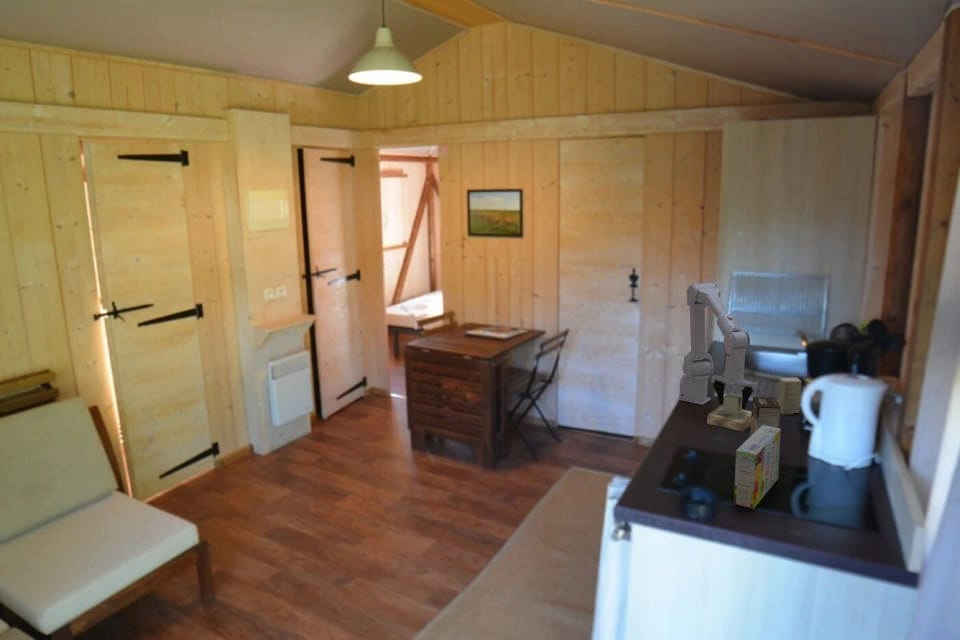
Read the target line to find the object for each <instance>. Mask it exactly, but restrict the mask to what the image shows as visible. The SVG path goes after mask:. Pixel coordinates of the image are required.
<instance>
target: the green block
mask: <svg viewBox="0 0 960 640" xmlns="http://www.w3.org/2000/svg"><path fill="white" fill-rule="evenodd" d="M722 406H723V413H724V414H728V415H733V416H738V415H739V414H740V413H742V410H743V409H742V394H738V393H737V394H736V393H731V392H728V393H727V394H725V395H724V400H723V405H722Z"/></svg>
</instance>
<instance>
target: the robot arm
mask: <svg viewBox="0 0 960 640" xmlns="http://www.w3.org/2000/svg"><path fill="white" fill-rule="evenodd" d="M686 303H687V306H688V307H689V325H690V329H689V331H690V332H689V333H690V351H689V352H688V353H686V355H684V357H683V364H682V373H683V375H682V376H681V378H680V381H679V394H678V396H679V397H678V401H684V402H688V403H693V404H696V405H697V404H698V405H701V406H702V405H705V404H706V403H708V402H709V401H711V399H712V398H711V397H708V388H709V387H708V386H709V385H708V384H709V379H710V380H711V383H713V385H712V387H713V389H714V391H715V393H716V396H717V401H718V404H719V405H722V404H724V396H725V395H724V394H725V388H726V385H731V386H737V387H743V388H742V389H741V395H742V410H745V409H746V408H747V406H748V405H747V404H748V402H749V399H750V397H751V395H752V394H753V392H754V391H755V390H757V388H758V382H755V381H751V380H748V379H745V378H744V377H745V376H744V374H745V360H746V349H747V348H749V346H750V344H751V337H750V335H749V333H748V331H746V330H744V329H743V328H741V327H740V325H739V324H738V323H737V320H736V319H735V317H734V316H733V314H731V313H728V311H727V310H726V307H725V306H724V304H723V301H722V299H721V289H720V286H719V284H718V283H717V282H709V283H708V282H707V283H691V284H689V286H688V287H687V288H686ZM707 306H708V307H709V309H710V310H711V311H712V313H713V314H714V315H715V317H716V318H717V319H716V325H717V326H718V329H719V330H720V332H721V334H722V335H723V345H724V352H725V354H726V359H725V374H724V375H717V374H716V375H715V374H714V372H715V371H714V370H715V365H714V361H713V356H712V355H711V354H710V353H709V352H707V349H706V346H707V345H706V344H707V343H706V318H705V317H706V315H705V311H706V310H705V309H706V308H707ZM713 374H714V375H713Z"/></svg>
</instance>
